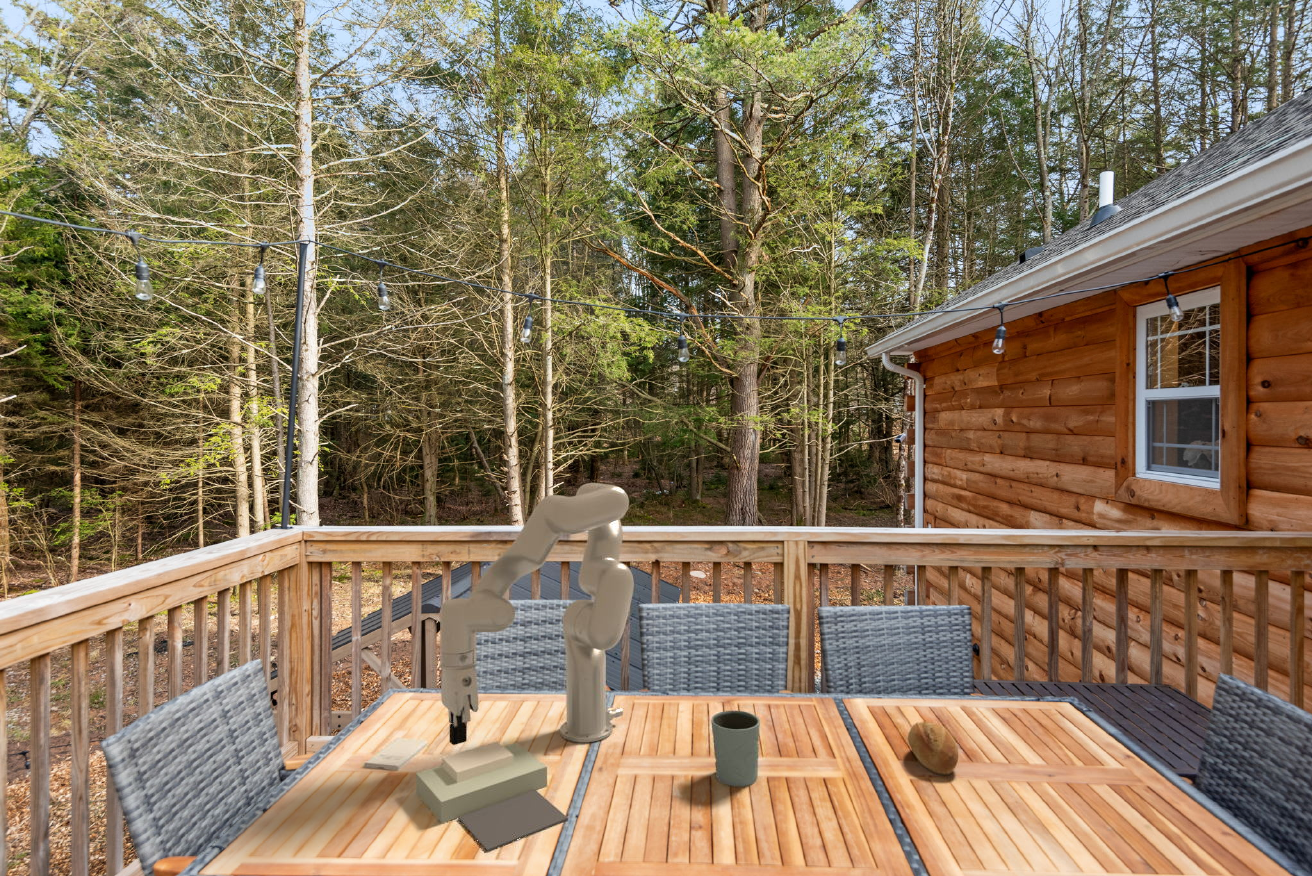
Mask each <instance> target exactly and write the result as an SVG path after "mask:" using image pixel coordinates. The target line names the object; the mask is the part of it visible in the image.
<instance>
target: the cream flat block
mask: <svg viewBox="0 0 1312 876" xmlns="http://www.w3.org/2000/svg"><path fill="white" fill-rule="evenodd" d="M503 746H504V745H502V744H501V743H500V742H498V741H494V742H490V743H487V744H484V745H481V746H477V747H473V748H471V749H467V750H463V751H460V752H457V753H454V754H453V753H452V754H450V755H446V756H443V757H442V759H441V765H442V768H443V769H444V770H445V771H446V772H447V773H448V774H449V775H450V776H451V777H452V778H453V779H454V780H455V781H456V782H457V783H458V782H462V781H465V780H468V779H471V778H474V777H477V776H480V775H483V774H486V773H489V772H492V771H496V770H499V769H502V768H505V767H508V766H511V765H514V755H513V754H512V753H511V752H509V751H508V750H507V749H506V748H504V747H503Z"/></svg>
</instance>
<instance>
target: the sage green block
mask: <svg viewBox="0 0 1312 876" xmlns="http://www.w3.org/2000/svg"><path fill="white" fill-rule="evenodd" d="M502 746H503V747H504V748H506V749H507V750H508V751H509V752H511V753H512V754H513V755H514V765H511V766H508V767H505V768H502V769H499V770H496V771H492V772H489V773H486V774H483V775H480V776H477V777H474V778H471V779H468V780H465V781H462V782H458V783H457V782H456V781H455V780H454V779H453V778H452V777H451V776H450V775H449V774H448V773H447V772H446V771H445V770H444V769H443V768H442V764H441V765H438V766H434V767H432V768H429V769H425V770H421V771H417V772H416V773H415V793H416V794H417V796H418V797H419V798H420V799H421V801H422V802H423V803H424V804H425V805H426V806H427V808H428V809H429V810H430V811H431V812H432V814H433V815H434V816H435V818H437V820H438V821H439V823H440V824H444V823H447V822H450V821H453V820H455V819H458V817H460V816H463V815H465V814H468V813H471V812H474V811H477V810H480V809H482V808H485V807H488V806H491V805H494V804H496V803H499V802H502V801H505V800H508V799H511V798H513V797H516V796H519V795H522V794H525V793H527V792H530V791H533V790H536V791H537V790H541V789H543V788H546V787H548V766H547V765H546V764H545V763H543V762H542V761H541V760H539V759H538V758H537V757H535V756H534V755H533V754H532V753H531V752H529V751H528V750H527V749H525V748H524V747H523V746H521V745H520V744H519V743H517V742H514V743H511V744H508V745H502Z"/></svg>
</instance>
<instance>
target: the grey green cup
mask: <svg viewBox="0 0 1312 876" xmlns="http://www.w3.org/2000/svg"><path fill="white" fill-rule="evenodd" d="M710 721H711V722H710V723H711V733H712V736H713V737H712V741H713V750H714V752H713V753H714V757H715V761H714V763H715V764H714V765H715V772H716V773H715V775H716V778H717V780H718V781H719V782H720V783H722V784H724V785H726V786H729V787H733V788H734V787H737V788H740V787H741V788H742V787H748V786H752V785H753V784H755V783H756V781H757V780H758V774H759V772H758V771H759V755H760V754H759V752H760V751H759V749H760V747H759V746H760V745H759V741H760V738H759V736H760V725H761V724H760V722H761V721H760V719H759V717H758V716H757V715H755V714H753V713H751V712H748V711H743V710H724V711H721V712H718V713H715V714H714V715H713V716H712V717H711V720H710Z"/></svg>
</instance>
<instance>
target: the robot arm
mask: <svg viewBox="0 0 1312 876" xmlns="http://www.w3.org/2000/svg"><path fill="white" fill-rule="evenodd" d="M629 506H630V500H629V496H628V493H627V492H626V491H625V490H624V489H623V488H621V487H620V486H616V485H613V484H605V483H600V482H598V483H597V482H589V483H585V484H583V485H581V486H580V487H578V489H577V491H576V494H575V495H574V496H564V495H559V494H558V495H557V494H552V495H550V494H549V495H547V496H545V497H543V498H542V499H541V500H540V501H539V502H538V504H537V505H536V506H535V508H534V510H533V511H532V513H531V514H530V516H529V518H528V519H527V521H526V522H525V524H524V525H523V527H522V528H521V530H520V532H519V534H518V535H517V537H516V538H515V540H514V541H513V543H512V544H511V546H510V547H509V548H508V549H507V550H506V551H504V552H503V553H502V554H501V555H500V556H499V557H498V558H497V559H496V560H495V561H494V562H493V563H491V564H490V566H488V568H487V569H486V570H485V572H483V574H482V575H481V577H480V578H479V580H478V582H477V583H476V585H475V586H474V588H473V589H472V591H471V593H470V594H469V597H468V598H465V597H464V598H463V597H461V598H459V597H457V598H453V599H452V598H451V599H447V600H445V601H444V602H443V603H442V604H441V606H440V617H439V621H440V624H439V625H440V627H439V628H440V630H439V631H440V632H439V633H440V635H439V636H440V637H439V640H440V641H439V649H440V650H439V652H440V655H439V658H440V659H439V661H440V662H439V666H440V667H441V670H442V671H441V680H440V681H441V684H440V687H441V688H440V690H441V692H440V694H441V696H440V697H441V698H440V699H441V703H442V705H443V706H444V707H445V708H446V709H447V710H448V722H449V743H450V744H452V746H455V745H458V744H463V743H466V742H467V739H468V738H467V735H468V734H467V730H468V727H467V724H468V722H471V711H472V712H474V713H477V712H479V711H478V710H479V688H478V676H477V670H476V664H477V633H500V632H503V631H505V630H507V629H508V628H510V626H511V625H512V624H513V623H514V621H515V618H516V610H515V607H514V605H513V604H512V603H511V601H509V600H508V599H506V598H505V595H506V594H507V592H508V591H509V589H510V588H511V587H512V586H513V585H514V584H515V583H516V582H517V581H518V580H520V578H522V577H524V576H526V575H527V574H531V573H532V572H535V571H536V570H539V569H540V568H542V567H543V566H544V564H545V563H546V562H547V559H548V558H549V556H550V555H551V552H553V550H554V548H555V547H556V545H557V543H558V542H559V540H560V539H561V536H562V535H567V536H568V535H569V536H570V535H576V534H582V533H584V532H588V533H587V534H588V535H587V541H586V546H585V548H584V549H585V550H584V554H583V557H582V560H581V561H582V562H581V565H580V569H579V573H578V579H577V580H578V585H579V587H580V589H581V590H582V591H583V592H585V593H586V594H588V595H590V596H592V597H594V600H589V599H577V600H575V601H573V602H571V603H570V604H569V605H568V606H567V607H566V609H565V610H564V613H563V617H562V631H563V632H562V633H563V637H564V638H563V640H564V645H565V660H566V661H565V668H566V669H565V675H566V677H565V679H566V680H565V682H566V685H565V689H566V702H565V703H566V721H565V722H563V723H562V724H561V725H560V727H559V728H560V729H559V733H560V735H561V737H562V738H564V739H565V740H567V741H569V742H570V741H571V742H575V743H592V742H598V741H601V740H604V739H606V738H607V737H609V736H610V735H611V734H612V733H613V728H614V727H613V724H612V722H611V721H612V720H613V719H615V718H619V717H623V715H624V712H623V709H622V708H621V707H618V708H615V709H613V707H611V706H609V707H607V686H606V685H607V682H606V679H607V675H606V674H607V673H606V672H607V670H606V667H607V659H606V658H607V657H606V651H608V650H611V649H613V648H614V647H615V646H616V645H618V643H619V641H620V640H621V638H622V636H623V634H624V631H625V627H626V623H627V619H628V615H629V611H630V606H631V603H632V599H633V594H634V588H635V587H634V586H635V583H634V576H633V572H632V571H631V569H630V568H629V567H628V566H627V564H625V563H622V562H620V561H619V559H620V555H621V550H622V549H621V548H622V544H623V533H624V532H623V525H622V523H621V519H623V517H624V516H625V515H626V513H627V511H628V510H629Z"/></svg>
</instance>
